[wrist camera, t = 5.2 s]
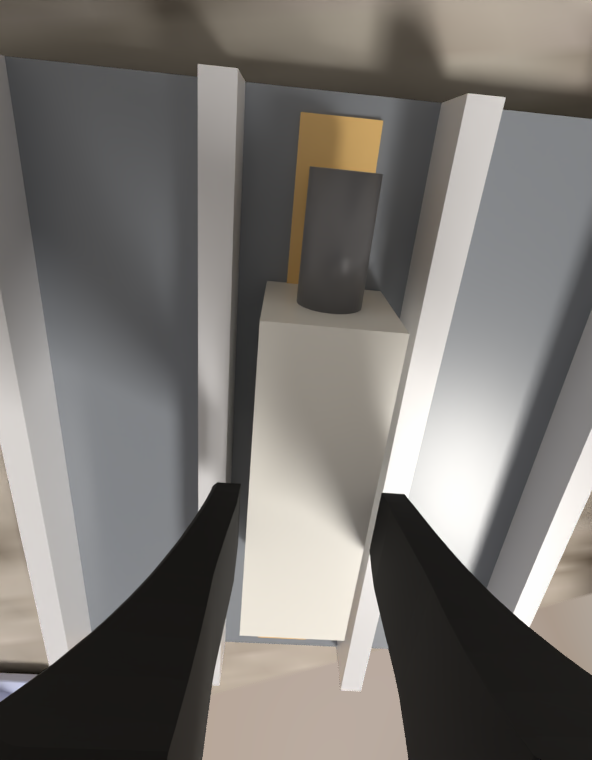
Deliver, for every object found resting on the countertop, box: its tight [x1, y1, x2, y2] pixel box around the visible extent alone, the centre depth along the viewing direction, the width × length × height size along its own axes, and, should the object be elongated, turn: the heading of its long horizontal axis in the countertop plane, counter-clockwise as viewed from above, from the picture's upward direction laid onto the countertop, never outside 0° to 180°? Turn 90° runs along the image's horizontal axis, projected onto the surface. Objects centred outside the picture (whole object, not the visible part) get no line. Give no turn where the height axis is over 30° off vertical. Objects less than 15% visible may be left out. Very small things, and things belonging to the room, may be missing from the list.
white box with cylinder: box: [240, 166, 410, 641], centre depth 13 cm, size 13×3×4 cm, turn 175°
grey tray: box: [0, 55, 592, 691], centre depth 15 cm, size 20×18×3 cm
